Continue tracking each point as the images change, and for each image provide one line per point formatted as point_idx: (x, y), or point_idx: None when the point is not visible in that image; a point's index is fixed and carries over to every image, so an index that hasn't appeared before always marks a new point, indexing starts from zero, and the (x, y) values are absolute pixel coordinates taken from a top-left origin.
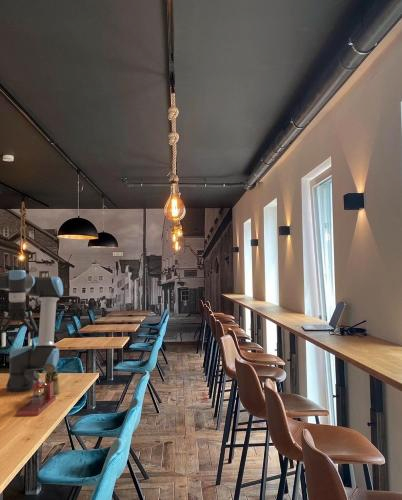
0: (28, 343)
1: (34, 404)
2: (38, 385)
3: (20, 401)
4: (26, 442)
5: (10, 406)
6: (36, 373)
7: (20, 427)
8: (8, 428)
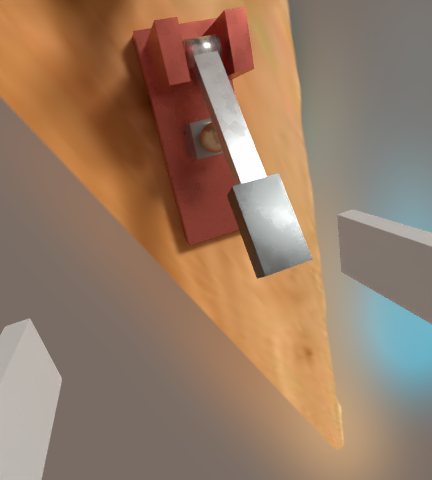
0: (366, 283)
1: (204, 161)
2: (204, 97)
3: (69, 68)
4: (313, 367)
5: (82, 148)
6: (295, 223)
7: (255, 310)
8: (230, 325)
